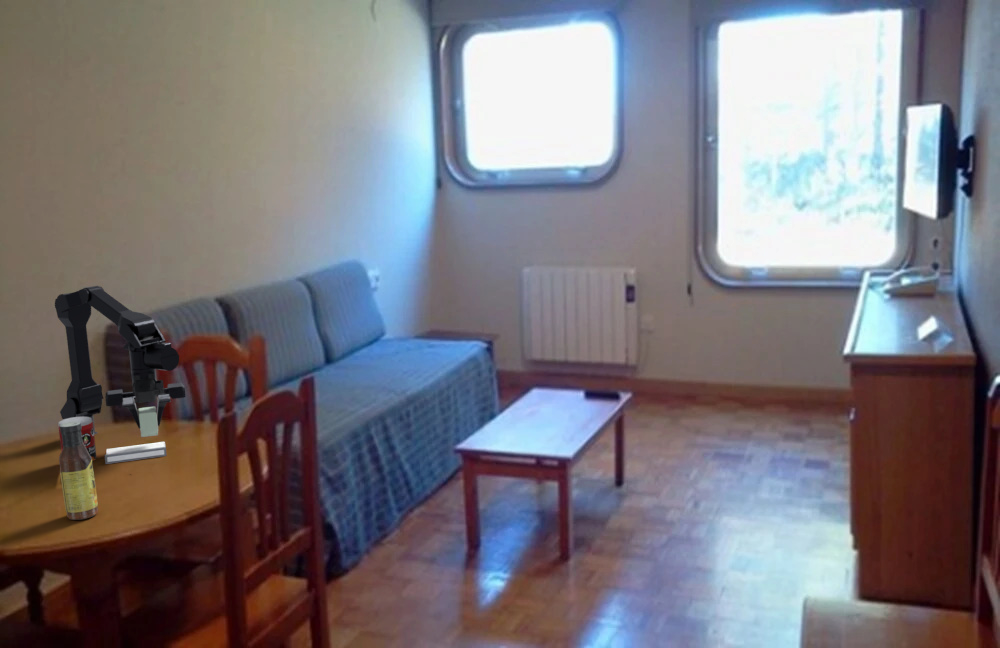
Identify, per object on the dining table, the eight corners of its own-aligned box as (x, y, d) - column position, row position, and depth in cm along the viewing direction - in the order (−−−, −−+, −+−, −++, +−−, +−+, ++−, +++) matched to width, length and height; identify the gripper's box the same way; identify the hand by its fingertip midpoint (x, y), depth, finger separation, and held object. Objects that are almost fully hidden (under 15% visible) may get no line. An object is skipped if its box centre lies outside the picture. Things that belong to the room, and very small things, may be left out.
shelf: (107, 452, 238) (105, 441, 237) (165, 445, 243) (163, 434, 242) (105, 467, 226) (104, 456, 225) (167, 459, 231) (165, 447, 230)
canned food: (73, 471, 224) (68, 426, 222) (56, 465, 229) (51, 422, 227) (103, 462, 230) (98, 419, 228) (86, 456, 235) (81, 414, 233)
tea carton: (141, 437, 234) (138, 414, 233) (140, 431, 239) (138, 408, 238) (158, 434, 235) (156, 412, 234) (157, 428, 241) (155, 406, 240)
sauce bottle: (104, 514, 195) (93, 423, 192) (74, 524, 190) (63, 430, 187) (89, 507, 199) (79, 418, 196) (60, 516, 195) (49, 424, 191)
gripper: (102, 378, 223) (109, 440, 226) (183, 369, 230) (189, 430, 233) (103, 368, 234) (109, 428, 236) (181, 360, 240) (186, 419, 243)
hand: (149, 427), depth 237 cm, fingers closed on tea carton, 4 cm apart
